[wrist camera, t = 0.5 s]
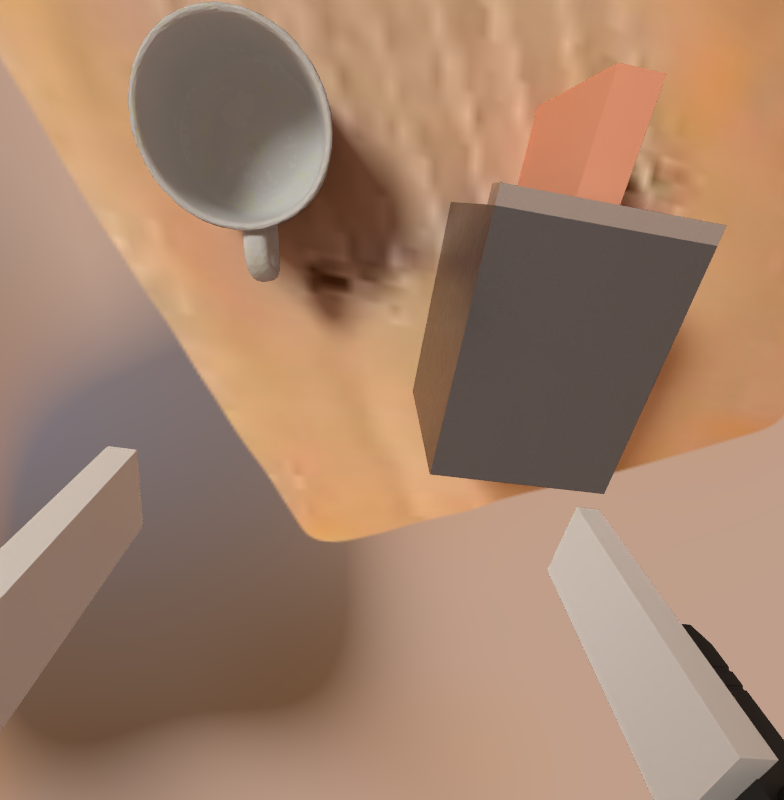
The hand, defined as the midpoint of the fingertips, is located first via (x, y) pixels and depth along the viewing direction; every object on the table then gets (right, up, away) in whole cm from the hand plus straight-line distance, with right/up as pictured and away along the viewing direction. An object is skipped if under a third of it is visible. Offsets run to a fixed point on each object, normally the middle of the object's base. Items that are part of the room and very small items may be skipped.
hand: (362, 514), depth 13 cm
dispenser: (+10, +11, +24) cm, 28 cm away
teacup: (-8, +20, +18) cm, 29 cm away
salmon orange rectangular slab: (+11, +19, +20) cm, 30 cm away
